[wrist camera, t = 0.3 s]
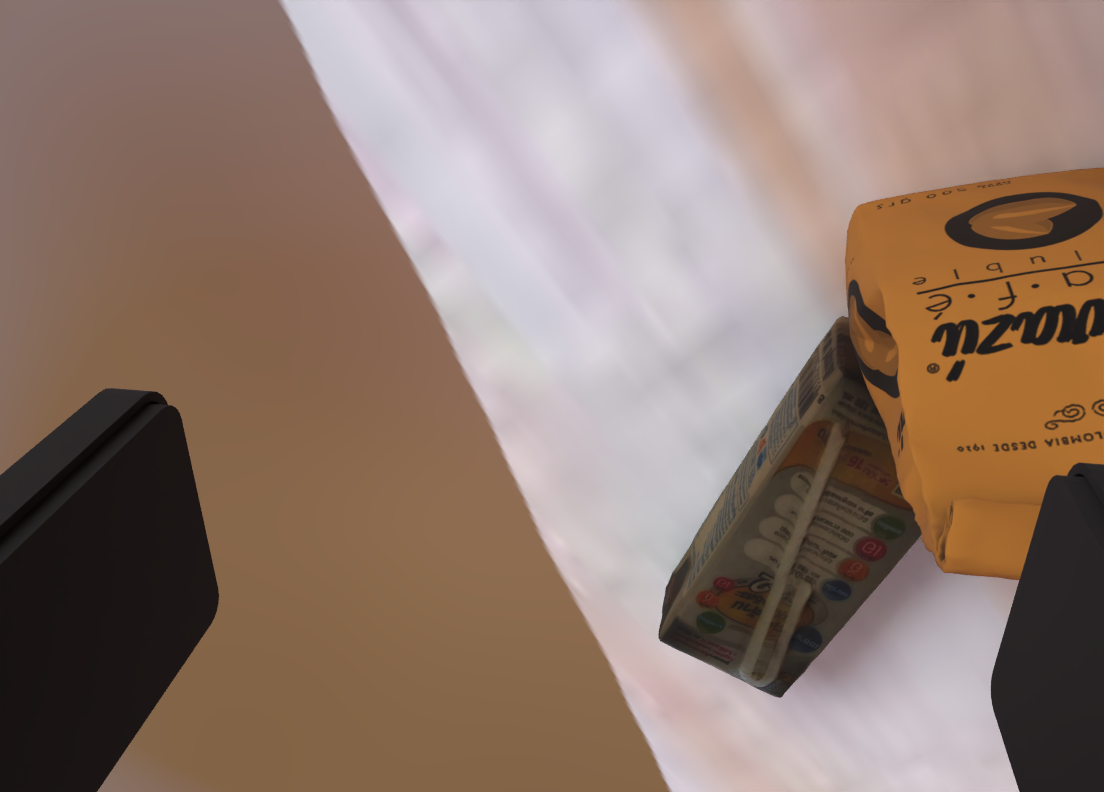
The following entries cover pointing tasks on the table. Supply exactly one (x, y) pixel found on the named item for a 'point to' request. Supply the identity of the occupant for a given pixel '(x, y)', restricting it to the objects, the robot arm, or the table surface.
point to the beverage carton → (794, 531)
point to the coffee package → (983, 351)
